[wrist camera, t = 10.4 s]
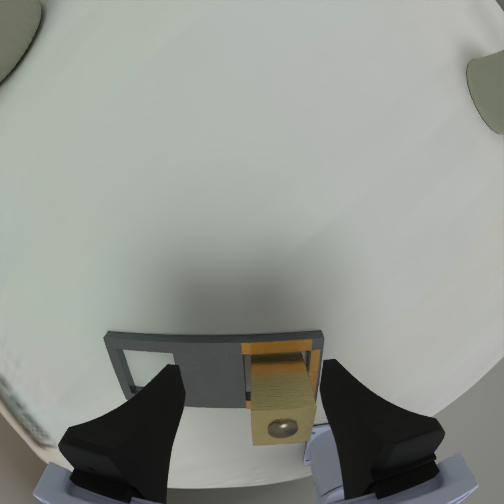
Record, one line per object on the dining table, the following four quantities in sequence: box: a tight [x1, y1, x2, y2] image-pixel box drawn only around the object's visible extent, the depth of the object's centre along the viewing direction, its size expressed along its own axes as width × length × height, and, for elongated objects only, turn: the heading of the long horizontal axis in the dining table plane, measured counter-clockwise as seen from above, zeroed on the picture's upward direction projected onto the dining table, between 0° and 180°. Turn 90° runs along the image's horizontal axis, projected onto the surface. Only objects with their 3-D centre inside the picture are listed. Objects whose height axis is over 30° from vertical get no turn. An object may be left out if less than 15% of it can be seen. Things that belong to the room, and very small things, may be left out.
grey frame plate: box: [103, 330, 324, 409], centre depth 23 cm, size 8×20×1 cm, turn 92°
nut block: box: [251, 351, 317, 445], centre depth 20 cm, size 4×4×8 cm
